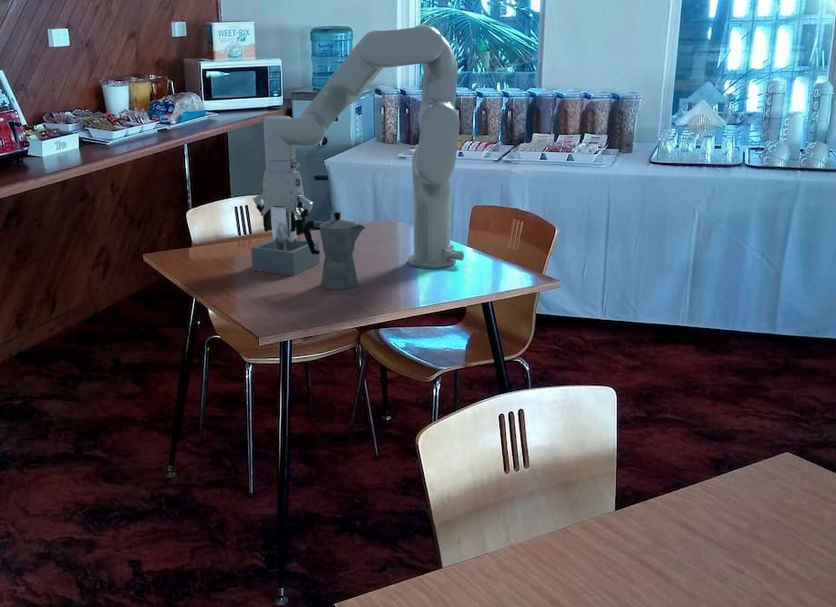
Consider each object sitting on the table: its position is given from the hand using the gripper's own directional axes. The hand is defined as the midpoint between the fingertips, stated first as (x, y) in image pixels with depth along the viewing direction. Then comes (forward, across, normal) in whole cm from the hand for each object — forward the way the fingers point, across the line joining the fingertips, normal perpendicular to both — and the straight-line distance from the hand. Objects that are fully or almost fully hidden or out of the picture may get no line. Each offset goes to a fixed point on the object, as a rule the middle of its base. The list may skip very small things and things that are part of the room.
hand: (284, 232), depth 235 cm
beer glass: (+8, 0, 0) cm, 8 cm away
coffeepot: (+10, -20, +9) cm, 23 cm away
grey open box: (+9, 0, 0) cm, 9 cm away
